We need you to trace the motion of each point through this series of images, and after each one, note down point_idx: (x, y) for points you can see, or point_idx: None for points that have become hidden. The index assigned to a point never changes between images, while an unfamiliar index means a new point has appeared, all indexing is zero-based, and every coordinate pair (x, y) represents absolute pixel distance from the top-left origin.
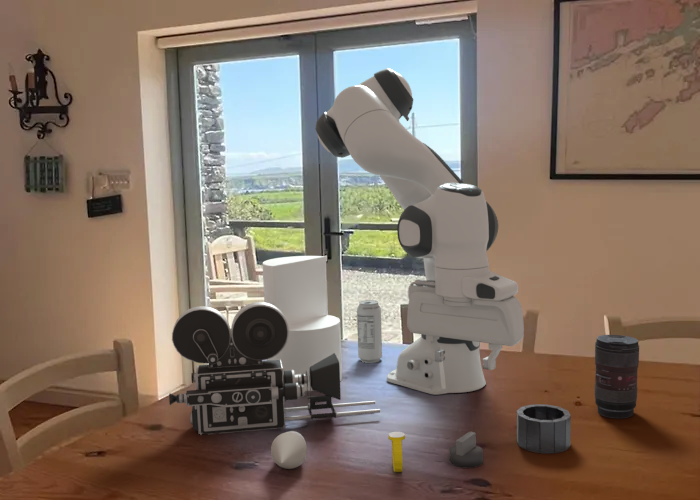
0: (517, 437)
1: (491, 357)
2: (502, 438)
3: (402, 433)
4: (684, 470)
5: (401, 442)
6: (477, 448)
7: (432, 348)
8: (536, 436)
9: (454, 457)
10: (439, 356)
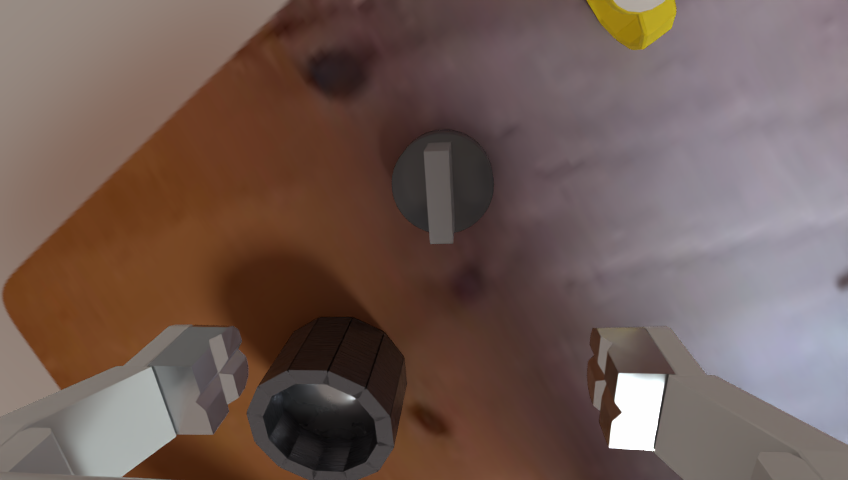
0: (393, 354)
1: (97, 379)
2: (440, 351)
3: (625, 1)
4: (69, 380)
5: None
6: (421, 217)
7: (717, 392)
8: (313, 342)
9: (453, 134)
10: (610, 349)
